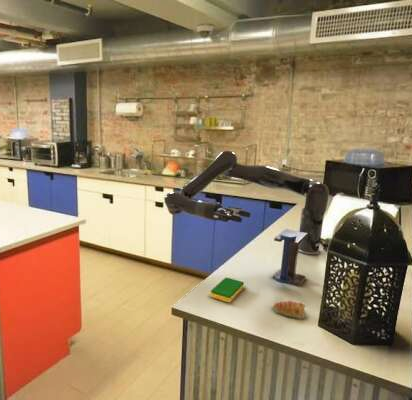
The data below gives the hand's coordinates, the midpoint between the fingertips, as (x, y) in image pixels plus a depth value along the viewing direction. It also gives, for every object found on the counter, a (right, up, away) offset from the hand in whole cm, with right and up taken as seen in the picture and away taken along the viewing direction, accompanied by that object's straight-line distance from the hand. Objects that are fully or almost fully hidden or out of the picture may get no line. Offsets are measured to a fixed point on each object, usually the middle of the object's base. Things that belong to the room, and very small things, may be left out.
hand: (246, 217), depth 143 cm
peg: (+12, -23, -5) cm, 27 cm away
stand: (+15, -25, 0) cm, 29 cm away
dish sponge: (-10, -27, -9) cm, 30 cm away
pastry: (+8, -31, -22) cm, 38 cm away
